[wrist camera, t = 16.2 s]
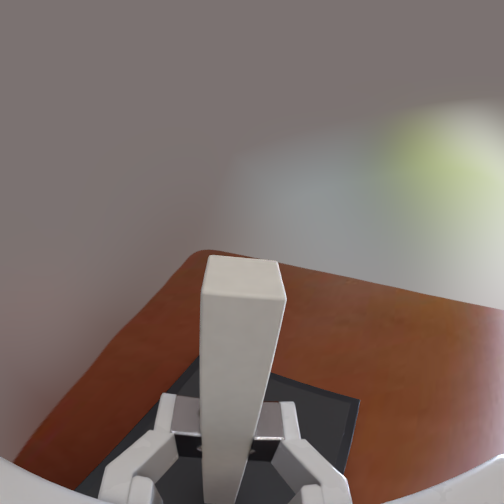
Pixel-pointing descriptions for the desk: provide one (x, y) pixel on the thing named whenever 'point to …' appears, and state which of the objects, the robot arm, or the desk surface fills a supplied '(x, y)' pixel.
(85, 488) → the plate
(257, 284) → the white square bar
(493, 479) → the robot arm
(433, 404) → the desk surface
